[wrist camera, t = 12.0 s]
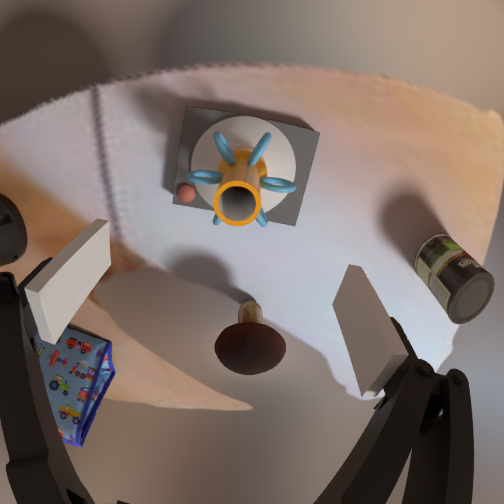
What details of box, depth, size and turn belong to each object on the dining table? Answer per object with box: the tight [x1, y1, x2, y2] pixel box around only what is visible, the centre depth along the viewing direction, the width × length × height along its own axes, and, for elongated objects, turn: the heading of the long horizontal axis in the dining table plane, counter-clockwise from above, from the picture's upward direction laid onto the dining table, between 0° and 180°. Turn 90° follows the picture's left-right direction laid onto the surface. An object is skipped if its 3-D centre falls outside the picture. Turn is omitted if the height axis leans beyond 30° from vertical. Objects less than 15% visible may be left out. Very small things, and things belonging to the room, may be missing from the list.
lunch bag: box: [34, 327, 115, 447], centre depth 47 cm, size 22×14×29 cm, turn 75°
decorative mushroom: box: [215, 301, 286, 375], centre depth 46 cm, size 11×11×15 cm
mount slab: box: [173, 107, 320, 226], centre depth 38 cm, size 18×14×4 cm
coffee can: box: [415, 234, 494, 324], centre depth 41 cm, size 10×10×14 cm
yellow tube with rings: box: [187, 131, 296, 227], centre depth 30 cm, size 12×10×15 cm
